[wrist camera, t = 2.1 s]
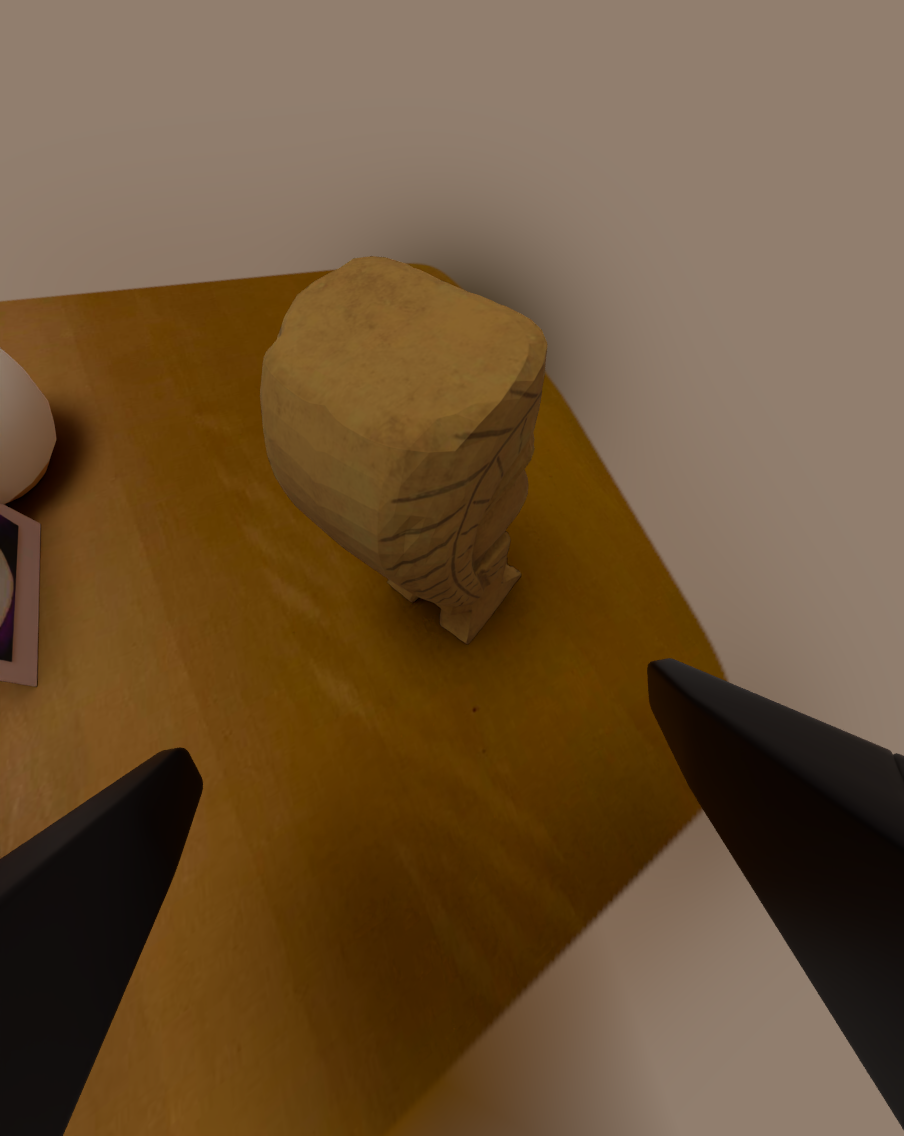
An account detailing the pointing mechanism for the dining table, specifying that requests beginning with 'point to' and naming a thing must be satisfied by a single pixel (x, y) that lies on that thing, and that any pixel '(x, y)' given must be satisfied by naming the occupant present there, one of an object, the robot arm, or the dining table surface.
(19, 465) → the cup
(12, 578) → the greeting card
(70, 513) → the dining table surface
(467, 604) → the figurine
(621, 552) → the dining table surface
